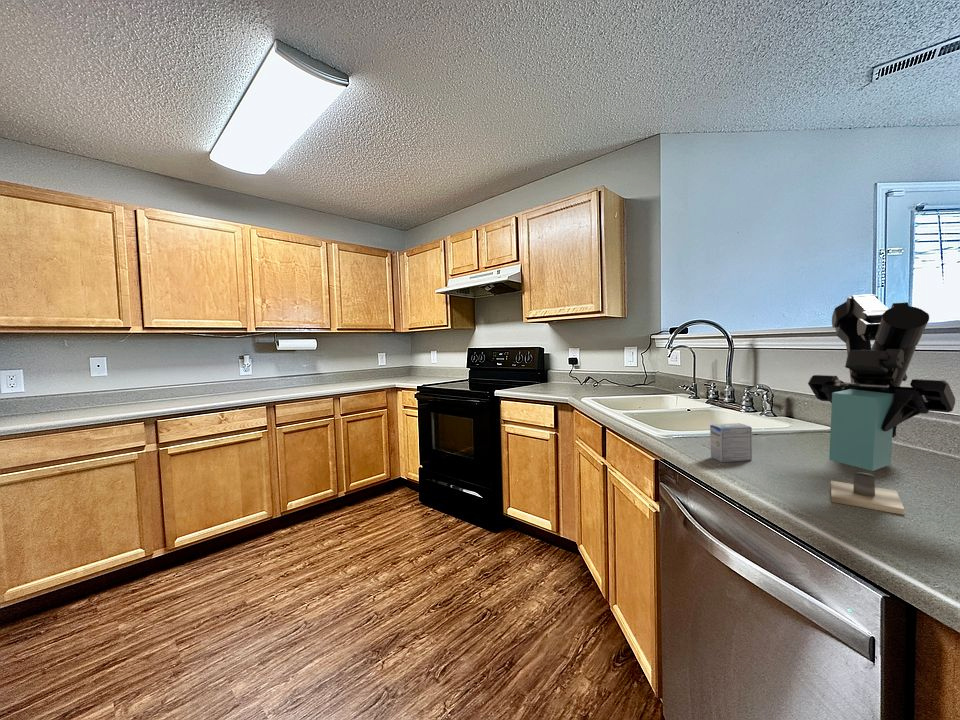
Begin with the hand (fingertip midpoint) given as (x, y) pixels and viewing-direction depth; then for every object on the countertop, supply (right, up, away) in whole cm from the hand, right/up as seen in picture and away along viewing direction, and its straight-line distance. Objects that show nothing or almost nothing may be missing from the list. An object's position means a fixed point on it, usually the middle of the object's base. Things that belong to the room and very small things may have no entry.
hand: (858, 426), depth 70 cm
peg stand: (+2, -14, +1) cm, 14 cm away
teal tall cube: (+1, -7, +1) cm, 7 cm away
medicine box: (-6, -13, +27) cm, 30 cm away
